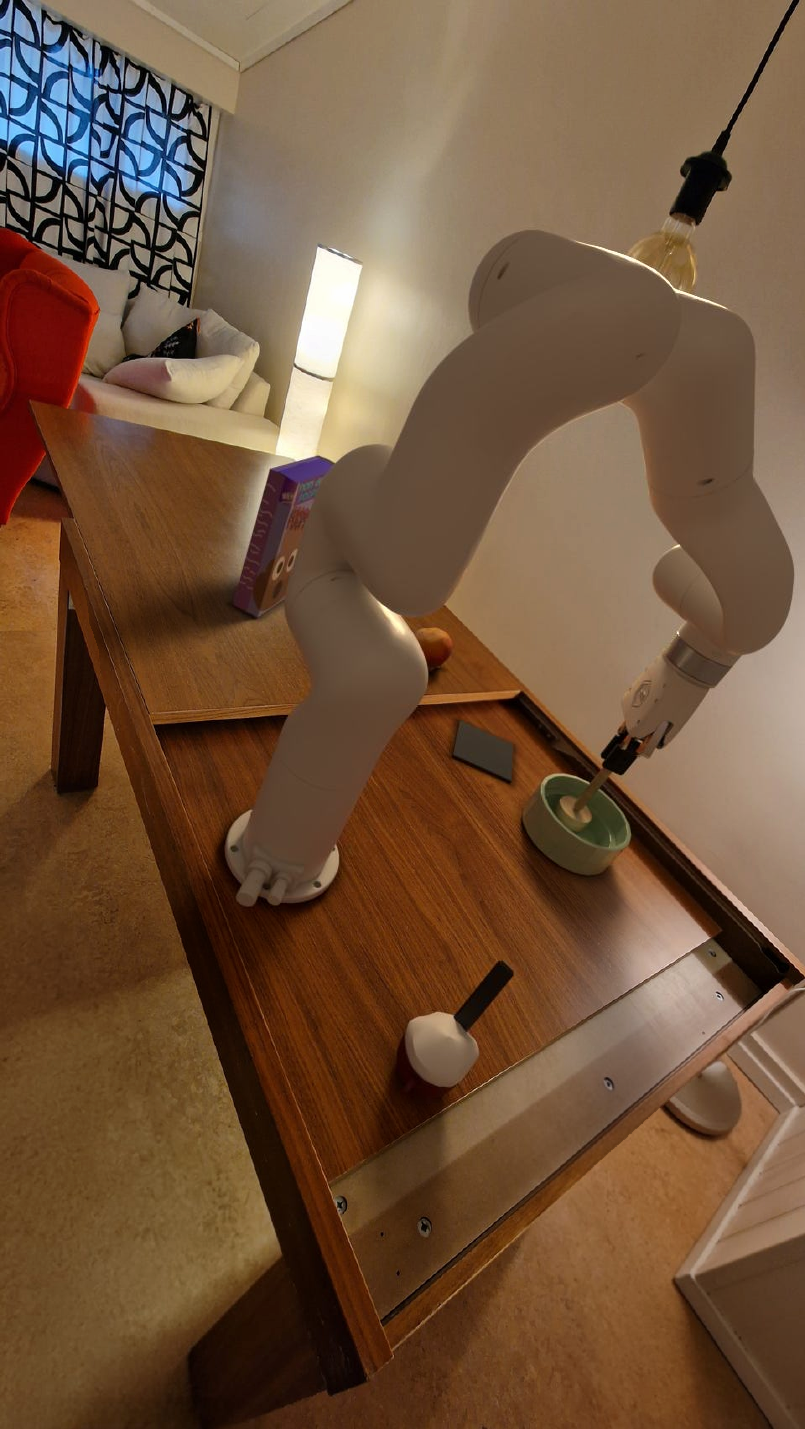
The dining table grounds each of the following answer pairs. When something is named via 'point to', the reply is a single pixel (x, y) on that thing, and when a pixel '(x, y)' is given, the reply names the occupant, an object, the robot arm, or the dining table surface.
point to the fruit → (434, 646)
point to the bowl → (576, 848)
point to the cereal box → (278, 533)
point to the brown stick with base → (579, 804)
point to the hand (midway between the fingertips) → (611, 765)
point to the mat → (484, 751)
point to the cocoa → (446, 1041)
